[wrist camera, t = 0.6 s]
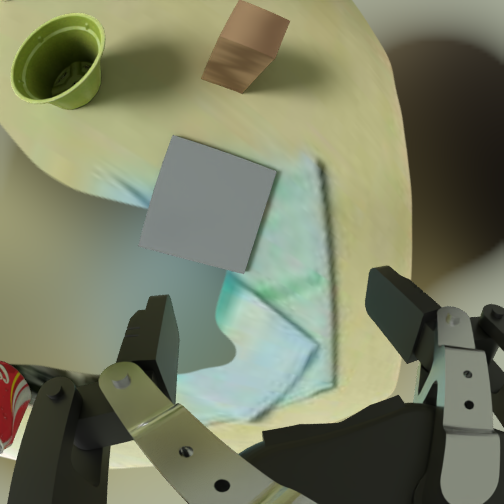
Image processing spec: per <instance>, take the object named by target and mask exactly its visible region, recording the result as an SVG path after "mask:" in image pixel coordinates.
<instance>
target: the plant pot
mask: <svg viewBox="0 0 504 504" xmlns="http://www.w3.org/2000/svg"><path fill="white" fill-rule="evenodd" d="M104 47H105V32H104V29H103V26H102V25H101V23H100V22H99V21H98V20H97V19H96V18H94V17H93V16H90V15H88V14H84V13H69V14H64V15H61V16H58V17H55V18H53V19H51V20H49V21H47V22H46V23H44V24H42V25H41V26H40V27H38V28H37V29H36V30H35V31H34V32H32V33H31V34H30V35H29V36H28V37H27V39H26V40H25V41H24V42H23V44H22V45H21V47H20V48H19V50H18V52H17V54H16V56H15V58H14V61H13V63H12V67H11V74H10V79H11V85H12V88H13V90H14V92H15V94H16V95H17V96H18V97H19V98H20V99H22V100H24V101H26V102H28V103H32V104H45V103H50V104H52V105H55V106H57V107H60V108H63V109H67V110H71V109H75V108H78V107H81V106H83V105H85V104H87V103H88V102H89V101H90V100H91V99H92V98H93V97H94V96H95V95H96V93H97V92H98V90H99V87H100V84H101V68H100V59H101V56H102V54H103V51H104ZM86 65H87V66H89V67H91V68H90V69H87V68H85V67H84V66H86ZM64 73H67V74H66V75H65V76H64V77H63V79H62V80H61V81H60V82H59V80H60V78H61V76H62V75H63V74H64ZM74 82H77V83H76V84H75V85H73V83H74Z"/></svg>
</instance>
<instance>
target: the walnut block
mask: <svg viewBox="0 0 504 504" xmlns="http://www.w3.org/2000/svg"><path fill="white" fill-rule="evenodd" d="M289 23H290V21H289V20H287V19H285V18H283V17H281V16H279V15H276V14H274V13H272V12H269V11H267V10H265V9H262V8H260V7H257V6H255V5H252V4H250V3H247V2H245V1H242V0H239V1H238V3H237V5H236V6H235V8H234V10H233V12H232V14H231V15H230V17H229V19H228V21H227V23H226V25H225V27H224V28H223V30H222V32H221V34H220V36H219V38H218V40H217V43H216V45H215V47H214V49H213V52H212V54H211V56H210V58H209V61H208V63H207V65H206V68H205V70H204V72H203V75H202V77H201V79H203V80H206V81H209V82H211V83H214V84H217V85H220V86H223V87H226V88H228V89H231V90H234V91H236V92H239V93H241V94H242V93H243V92H244V91H245V90H246V89H247V88H248V87H249V85H250V84H251V83H252V82H253V81H254V80H255V79H256V78H257V77H258V76H259V75H260V74H261V73H262V72H263V70H264V69H265V68H266V67H267V66H268V65H269V64H270V63H271V62H272V61H273V60H274V59H275V58H276V55H277V53H278V50H279V47H280V45H281V42H282V40H283V37H284V35H285V32H286V30H287V28H288V25H289Z"/></svg>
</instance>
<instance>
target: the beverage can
mask: <svg viewBox="0 0 504 504" xmlns="http://www.w3.org/2000/svg"><path fill="white" fill-rule="evenodd" d="M30 400H31V392H30V388H29V386H28V384H27V382H26V380H25V379H24V377H23V376H22V374H21V373H20V372H19V371H18V370H17V369H16V368H15V367H13V366H12V365H10V364H8V363H6V362H3V361H0V454H1V453H3V450H4V449H6V448H8V447H10V446H11V445H12V443H13V440H14V438H15V435H16V433H17V430H18V428H19V425H20V423H21V420H22V418H23V416H24V413H25V411H26V409H27V407H28V404H29V402H30Z"/></svg>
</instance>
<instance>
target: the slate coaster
mask: <svg viewBox="0 0 504 504" xmlns="http://www.w3.org/2000/svg"><path fill="white" fill-rule="evenodd" d="M276 172H277V171H274V170H272V169H269V168H267V167H264V166H261V165H259V164H256V163H253V162H251V161H248V160H245V159H243V158H240V157H237V156H234V155H232V154H229V153H226V152H223V151H220V150H217V149H214V148H211V147H208V146H206V145H202V144H199V143H196V142H193V141H190V140H187V139H184V138H181V137H177V136H174V135H173V136H172V138H171V141H170V144H169V147H168V149H167V152H166V155H165V158H164V161H163V164H162V167H161V170H160V173H159V176H158V179H157V182H156V185H155V188H154V191H153V195H152V198H151V201H150V205H149V208H148V211H147V215H146V219H145V222H144V226H143V229H142V233H141V237H140V241H139V245H138V246H139V247H142V248H146V249H150V250H153V251H158V252H161V253H165V254H168V255H172V256H176V257H180V258H183V259H187V260H191V261H195V262H199V263H203V264H207V265H210V266H215V267H218V268H222V269H226V270H230V271H234V272H238V273H242V274H244V272H245V269H246V266H247V263H248V260H249V257H250V254H251V250H252V247H253V244H254V241H255V238H256V235H257V232H258V228H259V225H260V222H261V219H262V216H263V213H264V210H265V206H266V203H267V200H268V197H269V194H270V191H271V188H272V185H273V181H274V178H275V175H276Z"/></svg>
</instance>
